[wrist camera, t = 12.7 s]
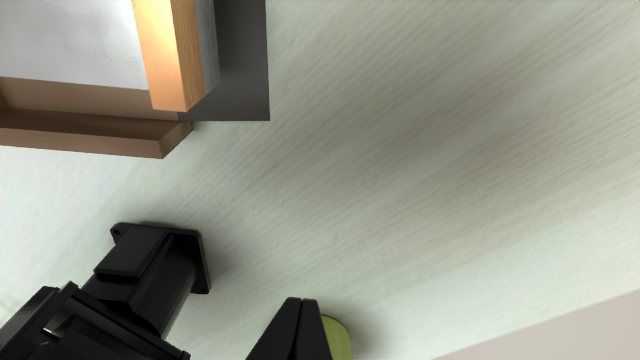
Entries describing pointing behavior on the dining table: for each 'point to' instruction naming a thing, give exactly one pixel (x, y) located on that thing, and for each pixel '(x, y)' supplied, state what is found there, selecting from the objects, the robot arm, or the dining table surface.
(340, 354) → the plant pot
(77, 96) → the dock
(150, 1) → the cart
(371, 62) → the dining table surface
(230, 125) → the dining table surface
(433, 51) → the dining table surface
